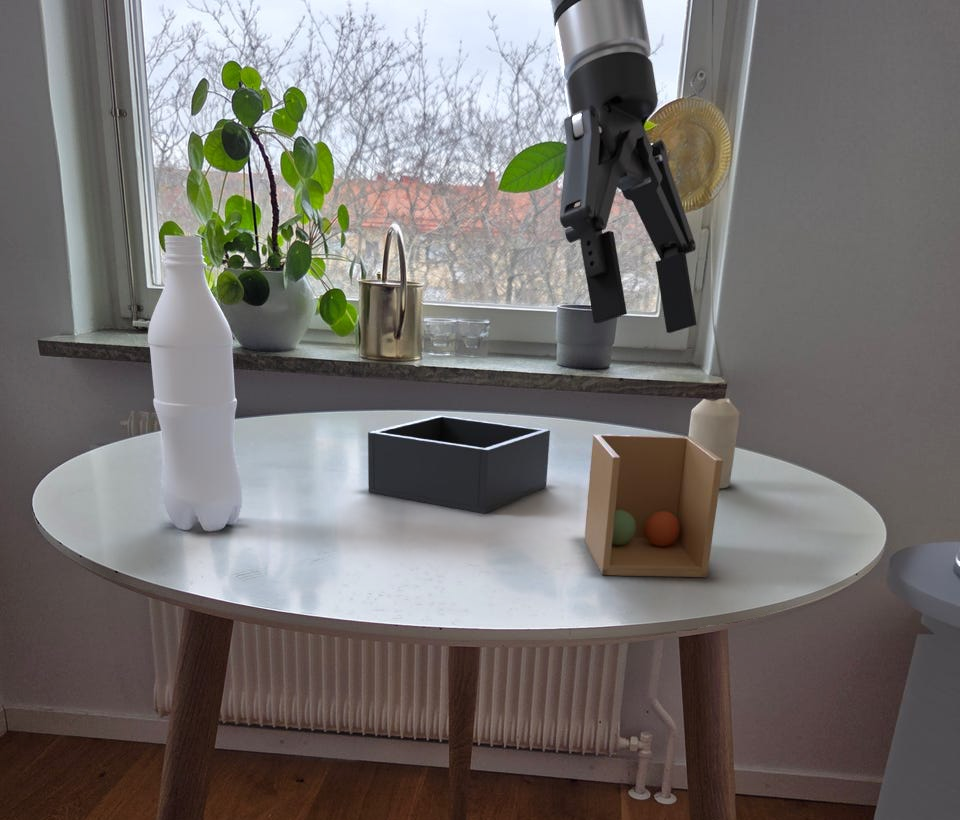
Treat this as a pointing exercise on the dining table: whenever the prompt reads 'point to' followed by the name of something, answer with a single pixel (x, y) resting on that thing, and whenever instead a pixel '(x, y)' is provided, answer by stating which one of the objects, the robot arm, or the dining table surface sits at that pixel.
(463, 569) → the dining table surface
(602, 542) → the box
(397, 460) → the basket
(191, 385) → the water bottle
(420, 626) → the dining table surface
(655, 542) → the ball
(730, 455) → the cream bottle
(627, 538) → the ball
